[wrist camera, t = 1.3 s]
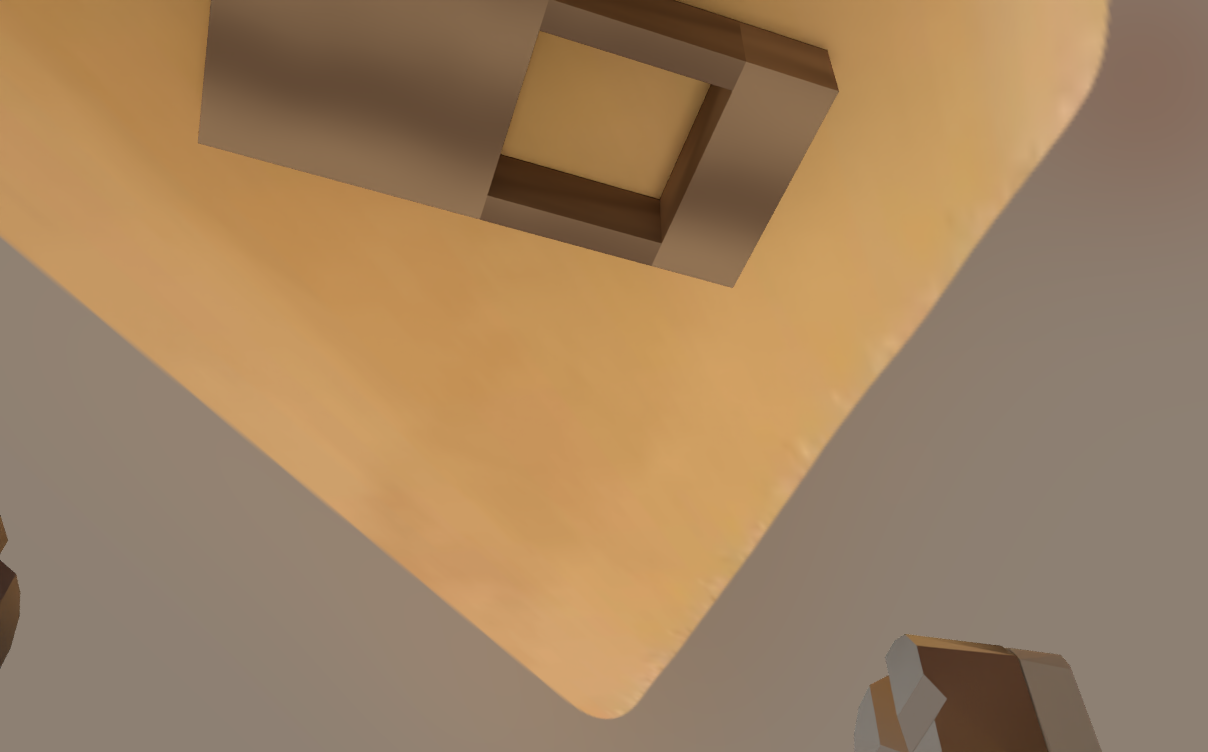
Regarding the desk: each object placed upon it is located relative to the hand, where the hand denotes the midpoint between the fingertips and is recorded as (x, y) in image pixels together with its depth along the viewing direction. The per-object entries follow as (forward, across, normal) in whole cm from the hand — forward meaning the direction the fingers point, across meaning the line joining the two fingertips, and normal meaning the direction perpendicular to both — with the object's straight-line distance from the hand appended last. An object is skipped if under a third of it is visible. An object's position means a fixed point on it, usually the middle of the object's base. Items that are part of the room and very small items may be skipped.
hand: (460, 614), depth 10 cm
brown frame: (+27, +1, +7) cm, 28 cm away
